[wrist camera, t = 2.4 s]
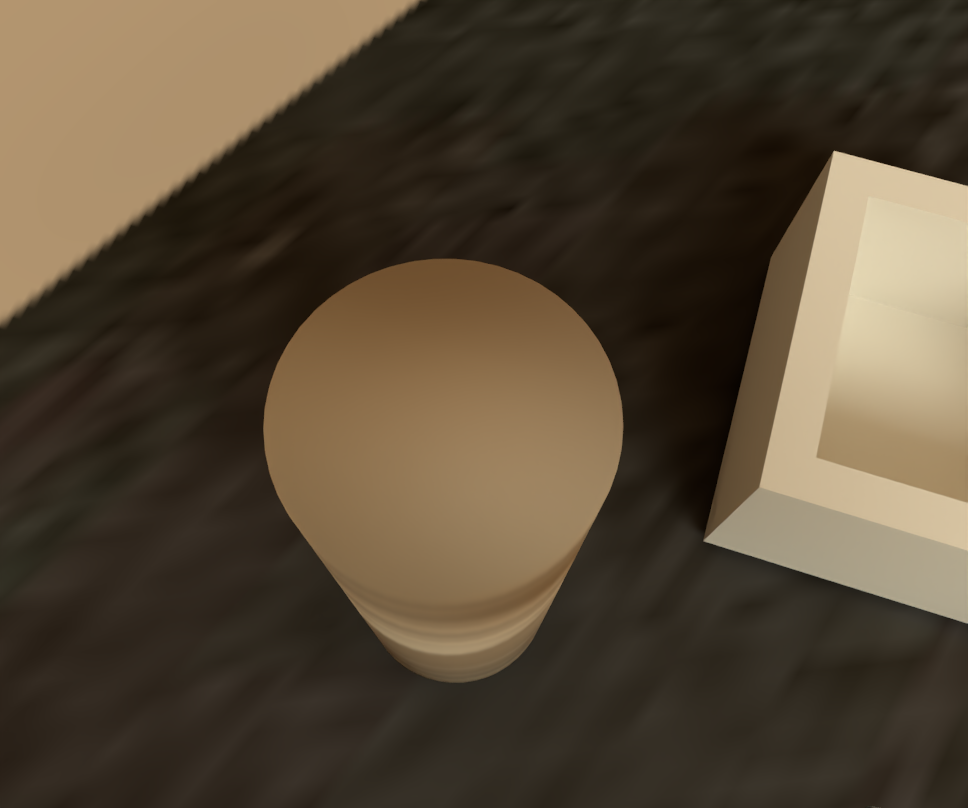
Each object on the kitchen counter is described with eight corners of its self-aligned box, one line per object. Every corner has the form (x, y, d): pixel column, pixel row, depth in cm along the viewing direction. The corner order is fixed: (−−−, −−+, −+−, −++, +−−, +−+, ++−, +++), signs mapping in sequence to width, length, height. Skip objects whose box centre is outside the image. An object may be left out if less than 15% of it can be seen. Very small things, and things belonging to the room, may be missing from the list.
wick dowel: (515, 708, 18) (566, 648, 9) (340, 649, 18) (204, 528, 9) (567, 532, 19) (661, 313, 10) (402, 480, 19) (339, 220, 10)
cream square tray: (1048, 648, 18) (1196, 620, 15) (703, 540, 19) (759, 487, 15) (1078, 342, 21) (1211, 250, 17) (771, 257, 21) (834, 151, 18)
